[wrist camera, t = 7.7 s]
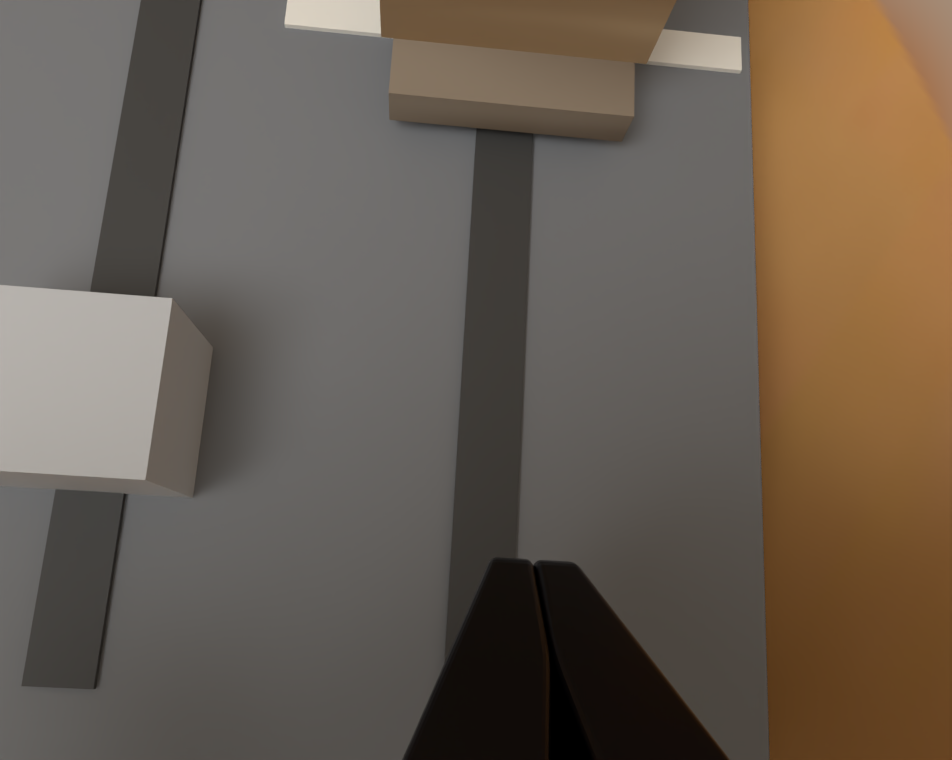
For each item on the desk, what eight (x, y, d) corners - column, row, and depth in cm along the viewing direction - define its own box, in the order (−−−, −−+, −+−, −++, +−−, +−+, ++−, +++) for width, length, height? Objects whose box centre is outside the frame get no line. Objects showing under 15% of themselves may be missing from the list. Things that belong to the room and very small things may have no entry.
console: (721, 824, 14) (859, 931, 10) (-139, 794, 13) (-399, 898, 9) (708, -65, 18) (800, -259, 14) (58, -139, 17) (-53, -371, 13)
